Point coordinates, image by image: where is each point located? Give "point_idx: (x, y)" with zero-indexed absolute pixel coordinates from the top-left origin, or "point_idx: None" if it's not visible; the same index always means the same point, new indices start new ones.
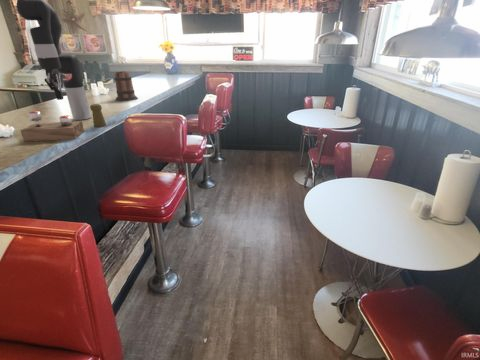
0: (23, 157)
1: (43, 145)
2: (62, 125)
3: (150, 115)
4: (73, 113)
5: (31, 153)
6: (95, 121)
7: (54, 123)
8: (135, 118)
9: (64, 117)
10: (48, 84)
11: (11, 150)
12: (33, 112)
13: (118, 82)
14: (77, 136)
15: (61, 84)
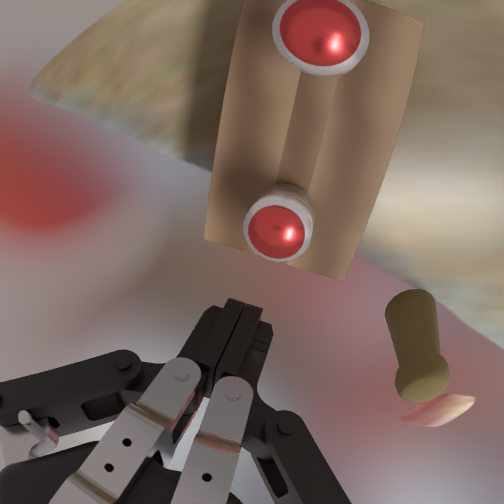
0: (69, 89)
1: (166, 101)
2: None
3: (427, 425)
4: None
5: (93, 95)
6: (399, 316)
7: (366, 137)
8: None
9: (248, 233)
10: (43, 379)
11: (144, 6)
12: (280, 35)
13: None
14: None
15: (259, 470)
